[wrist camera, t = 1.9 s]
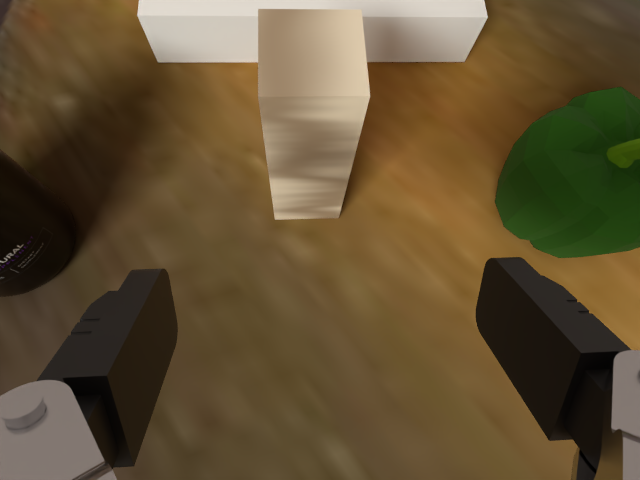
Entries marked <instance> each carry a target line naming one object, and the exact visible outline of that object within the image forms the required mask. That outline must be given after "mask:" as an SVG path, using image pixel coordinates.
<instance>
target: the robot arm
mask: <svg viewBox="0 0 640 480" xmlns="http://www.w3.org/2000/svg"><path fill="white" fill-rule="evenodd" d="M476 322H477V326H478V329H479V332H480V333H481V335H482V337H483V338H484V340H485V341H486V343H487V344H488V346H489V348H490V349H491V351H492V352H493V354H494V355H495V357H496V358H497V360H498V362H499V363H500V365H501V366H502V368H503V369H504V371H505V372H506V374H507V376H508V377H509V379H510V380H511V382H512V383H513V385H514V387H515V388H516V390H517V391H518V393H519V394H520V396H521V397H522V399H523V401H524V402H525V404H526V405H527V407H528V408H529V410H530V411H531V413H532V415H533V416H534V418H535V419H536V421H537V422H538V424H539V425H540V427H541V429H542V430H543V432H544V433H545V435H546V436H547V438H548V440H549V441H554V440H569V439H573V440H574V441H575V443H576V444H577V446H578V448H577V450H576V453H575V455H574V459H573V467H572V475H571V480H640V351H639V350H631V349H630V348H629V347H628V346H627V345H625V344H624V343H623V342H622V341H621V340H620V339H619V338H618V337H617V336H616V335H615V334H614V333H613V332H611V331H610V330H609V329H608V328H607V327H606V326H605V325H604V324H603V323H602V322H601V321H600V320H599V319H597V318H596V317H595V316H594V315H593V314H592V313H591V314H589V310H588V309H587V308H586V307H584V306H583V305H582V304H581V303H580V302H577V299H576V298H575V297H574V296H573V295H572V294H570V293H569V292H568V291H567V290H566V289H565V288H564V287H563V286H561V285H559V284H557V283H556V282H554V281H552V280H550V279H548V278H546V277H545V276H541V275H540V274H539V273H538V272H537V271H536V270H535V269H533V268H532V267H531V266H530V265H529V264H528V263H527V262H526V261H525V260H524V259H523V258H521V257H510V258H490V259H489V260H488V261H487V262H486V264H485V268H484V272H483V277H482V282H481V287H480V292H479V297H478V301H477V306H476ZM177 332H178V327H177V318H176V313H175V307H174V302H173V296H172V291H171V286H170V280H169V276H168V273H167V271H166V270H165V269H142V270H132V271H131V272H130V273H129V274H128V276H127V278H126V279H125V281H124V282H123V284H122V285H121V287H120V288H119V290H118V291H108V292H107V293H106V294H104V295H103V296H101V297H100V298H99V299H97V300H96V301H95V302H93V303H92V304H91V305H90V306H89V307H88V309H87V310H86V312H85V313H84V314H83V316H82V317H81V319H80V322H79V323H77V324H76V326H75V327H74V329H73V330H72V331H71V336H68V337H67V339H66V340H65V341H64V343H63V344H62V346H61V347H60V348H59V350H58V351H57V353H56V354H55V355H54V357H53V358H52V360H51V361H50V363H49V364H48V365H47V367H46V368H45V370H44V371H43V372H42V374H41V375H40V377H39V378H38V380H37V381H36V382H31V383H28V384H25V385H22V386H19V387H17V388H15V389H13V390H10V391H9V392H7V393H5V394H3V395H2V396H0V480H117V479H116V477H115V475H114V472H113V470H112V469H113V467H128V466H134V465H135V462H136V459H137V456H138V453H139V450H140V447H141V445H142V442H143V439H144V436H145V433H146V430H147V427H148V424H149V421H150V419H151V416H152V413H153V410H154V407H155V404H156V401H157V398H158V395H159V393H160V390H161V387H162V384H163V381H164V378H165V375H166V372H167V369H168V367H169V364H170V361H171V358H172V355H173V352H174V349H175V346H176V342H177Z"/></svg>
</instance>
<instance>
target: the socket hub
mask: <svg viewBox="0 0 640 480" xmlns="http://www.w3.org/2000/svg"><path fill="white" fill-rule="evenodd" d="M258 9H350V10H362V19H363V29H364V39H365V49H366V59H367V62H465V60H466V58H467V56H468V54H469V52H470V50H471V48H472V47H473V45H474V43H475V41H476V39H477V37H478V35H479V33H480V31H481V29H482V28H483V26H484V24H485V22H486V20H487V18H488V16H487V11H486V7H485V2H484V0H139V6H138V15H137V16H138V18H139V20H140V23H141V25H142V27H143V29H144V32H145V34H146V36H147V39H148V41H149V43H150V45H151V48H152V50H153V52H154V55H155V57H156V59H157V61H158V62H258Z"/></svg>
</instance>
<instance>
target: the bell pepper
mask: <svg viewBox="0 0 640 480" xmlns="http://www.w3.org/2000/svg"><path fill="white" fill-rule="evenodd" d="M495 203H496V206H497V209H498V212H499V214H500V217H501V220H502V222H503V225H504V227H505V228H506V229H508V230H509V231H510V232H512V233H513V234H514V235H516V236H517V237H518V238H520V239H526V240H530V242H531V244H532V245H533V247H534V248H536V249H538V250H540V251H543V252H545V253H548V254H550V255H553V256H556V257H558V258H572V257H584V256H593V255H601V254H609V253H616V252H623V251H629V250H632V249H635V248H638V247H640V100H639V99H638V98H637V97H635V96H634V95H632V94H631V93H629V92H628V91H626V90H625V89H624V88H622V87H617V88H611V89H606V90H600V91H594V92H589V93H586V94H583V95H580V96H578V97H575V98H573V99H572V100H571V101H570V102H569V103H568V104H567V105H566V106H564V107H562V108H559V109H556V110H553V111H550V112H549V113H547V114H546V115H544V116H543V117H541V118H540V119H538V120H537V121H535V122H534V123H532V124H531V125H530V127H529V128H528V129H527V130H526V131H525V132H524V133H523V135H522V136H521V137H520V138H519V139H518V140H517V141H516V143H515V144H514V146H513V148H512V150H511V152H510V154H509V156H508V158H507V160H506V162H505V164H504V167H503V170H502V172H501V175H500V178H499V181H498V187H497V192H496V198H495Z"/></svg>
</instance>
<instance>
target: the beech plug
mask: <svg viewBox="0 0 640 480" xmlns="http://www.w3.org/2000/svg"><path fill="white" fill-rule="evenodd" d="M258 99H259V106H260V114H261V121H262V128H263V136H264V143H265V150H266V157H267V165H268V172H269V179H270V187H271V194H272V201H273V208H274V216H275V220H277V219H317V218H339V215H340V211H341V208H342V204H343V200H344V196H345V192H346V188H347V184H348V180H349V176H350V173H351V169H352V165H353V161H354V157H355V153H356V149H357V145H358V142H359V138H360V134H361V130H362V126H363V122H364V118H365V114H366V111H367V107H368V103H369V99H370V89H369V79H368V69H367V59H366V49H365V39H364V29H363V19H362V10H350V9H258Z"/></svg>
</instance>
